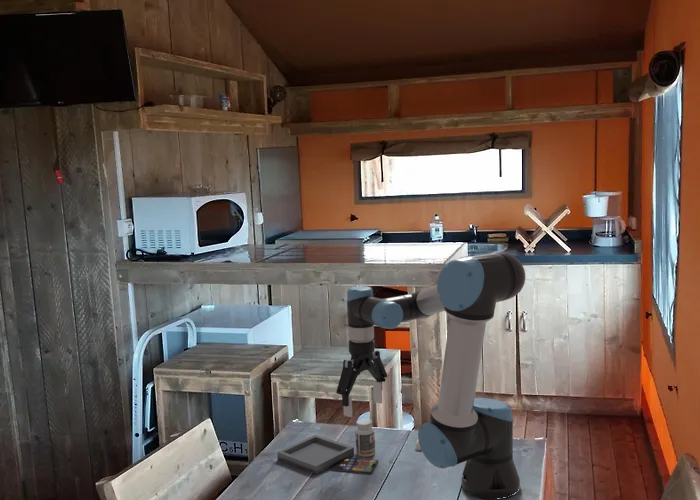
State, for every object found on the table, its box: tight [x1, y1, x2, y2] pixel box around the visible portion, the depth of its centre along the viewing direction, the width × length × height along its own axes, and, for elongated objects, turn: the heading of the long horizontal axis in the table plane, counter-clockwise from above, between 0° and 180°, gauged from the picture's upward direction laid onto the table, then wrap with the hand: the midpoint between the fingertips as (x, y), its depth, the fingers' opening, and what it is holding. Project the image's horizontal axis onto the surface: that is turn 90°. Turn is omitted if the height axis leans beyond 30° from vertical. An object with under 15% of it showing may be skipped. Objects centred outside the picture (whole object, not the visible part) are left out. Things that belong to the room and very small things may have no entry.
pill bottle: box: [355, 418, 376, 458], centre depth 206 cm, size 6×6×10 cm
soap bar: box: [415, 438, 422, 451], centre depth 212 cm, size 5×9×3 cm, turn 167°
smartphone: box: [324, 457, 379, 475], centre depth 199 cm, size 8×15×1 cm, turn 73°
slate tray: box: [276, 434, 355, 475], centre depth 206 cm, size 16×16×2 cm
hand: (363, 409), depth 206 cm, fingers open, 13 cm apart
